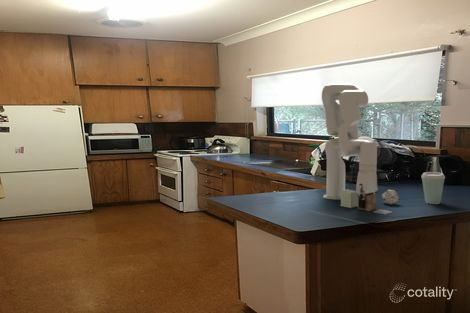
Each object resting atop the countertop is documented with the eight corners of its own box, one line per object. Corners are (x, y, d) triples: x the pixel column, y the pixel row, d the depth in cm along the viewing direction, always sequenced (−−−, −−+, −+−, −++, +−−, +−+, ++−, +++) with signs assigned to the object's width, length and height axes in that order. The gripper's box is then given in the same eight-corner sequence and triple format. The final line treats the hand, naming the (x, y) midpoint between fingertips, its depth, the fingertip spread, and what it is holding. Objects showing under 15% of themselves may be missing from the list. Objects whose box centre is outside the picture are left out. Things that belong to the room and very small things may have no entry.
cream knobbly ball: (386, 211, 195) (382, 193, 201) (404, 207, 191) (399, 188, 196) (380, 205, 189) (376, 186, 195) (398, 200, 185) (393, 181, 190)
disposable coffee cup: (445, 205, 190) (447, 175, 189) (421, 204, 194) (422, 174, 192) (442, 201, 200) (443, 172, 199) (418, 200, 204) (420, 171, 202)
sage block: (347, 203, 193) (348, 189, 192) (357, 205, 189) (357, 191, 188) (340, 205, 189) (341, 191, 189) (350, 207, 185) (350, 192, 184)
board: (351, 203, 196) (351, 201, 196) (397, 212, 178) (397, 210, 177) (333, 208, 187) (333, 205, 187) (380, 217, 169) (380, 215, 169)
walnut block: (364, 207, 186) (365, 192, 185) (375, 209, 181) (375, 194, 181) (358, 209, 182) (358, 194, 181) (368, 211, 178) (369, 195, 177)
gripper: (371, 166, 188) (370, 202, 190) (349, 169, 177) (348, 208, 179) (385, 167, 182) (384, 205, 184) (363, 170, 171) (362, 211, 173)
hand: (366, 206), depth 182 cm, fingers open, 6 cm apart
